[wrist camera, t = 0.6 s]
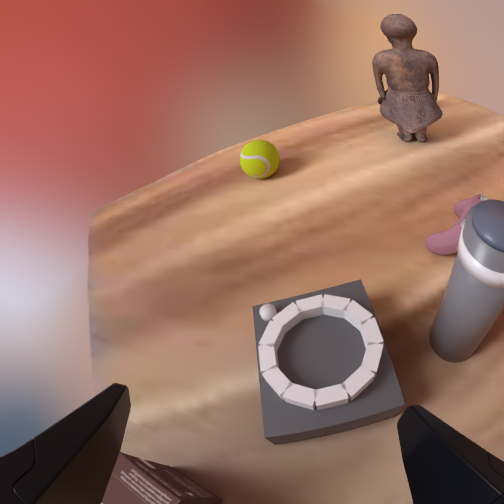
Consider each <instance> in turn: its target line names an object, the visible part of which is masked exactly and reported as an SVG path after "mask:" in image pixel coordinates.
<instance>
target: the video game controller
mask: <svg viewBox="0 0 504 504" xmlns="http://www.w3.org/2000/svg"><path fill="white" fill-rule="evenodd" d="M484 200H489V199H488V198H487V197H484V196H483V194H482V195H480V194H478V195H476V196H474V197H472V198H469V199H464V200H461V201H459V202H457V203H456V204H455V206H454V212H455V214H456V215H457V216H459V219H458V220H457V222H456V223H455V225H454V226H453V227H452V228H451V229H449V230H446V231H443V232H439V233H434V234H431V235H430V236H428V237H427V239H426V246H427V248H428V249H429V250H430V251H431V252H433V253H435V254H440V255H449V254H454V253H457V252H458V251H457V246H458V242H459V238H460V234H461V229H462V227H463V225H464V223H465V220H466V215H467V212H468V211H469V209H470V208H471V207H472V206H474V205H476V204H478V203H479V202H481V201H484Z"/></svg>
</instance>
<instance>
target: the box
mask: <svg viewBox="0 0 504 504" xmlns="http://www.w3.org/2000/svg"><path fill="white" fill-rule="evenodd" d="M221 503H222V499H221V498H219V497H217V496H216V495H214V494H212V493H211V492H209V491H208V490H206V489H204V488H203V487H201V486H200V485H198V484H197V483H195V482H193V481H192V480H190V479H189V478H187V477H186V476H184V475H183V474H181V473H179V472H178V471H176V470H175V469H174V468H172V467H170V466H167V465H162V464H159V463H155V462H151V461H148V460H144V459H141V458H137V457H134V456H130V455H127V454H124V453H122V452H120V453H119V456H118V458H117V461H116V464H115V466H114V469H113V472H112V474H111V477H110V480H109V483H108V485H107V488H106V491H105V494H104V497H103V500H102V503H101V504H221Z"/></svg>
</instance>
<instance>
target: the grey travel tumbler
mask: <svg viewBox="0 0 504 504" xmlns="http://www.w3.org/2000/svg"><path fill="white" fill-rule="evenodd" d="M457 251H458V252H457V255H456V259H455V262H454V266H453V269H452V272H451V275H450V279H449V282H448V285H447V288H446V291H445V293H444V296H443V299H442V302H441V304H440V307H439V310H438V312H437V315H436V318H435V320H434V323H433V325H432V328H431V331H430V343H431V346H432V348H433V350H434V351H435V353H436V354H437V355H438V356H439V357H441V358H442V359H444V360H446V361H449V362H462V361H464V360H466V359H468V358H469V357H470V356H471V355H472V354H473V353H474V352H475V350H476V349H477V348H478V346H479V345H480V343H481V342H482V340H483V339H484V337H485V336H486V335H487V333H488V332H489V330H490V328H491V327H492V325H493V324H494V322H495V321H496V319H497V317H498V316H499V314H500V313H501V311H502V309H503V307H504V202H503V201H499V200H484V201H481V202H479V203H478V204H476V205H474V206H472V207H471V208H470V209H469V211H468V212H467V215H466V220H465V223H464V225H463V227H462V229H461V234H460V238H459V242H458V246H457Z"/></svg>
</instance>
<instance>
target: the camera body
mask: <svg viewBox="0 0 504 504" xmlns="http://www.w3.org/2000/svg"><path fill="white" fill-rule="evenodd" d="M253 314H254V326H255V337H256V348H257V359H258V370H259V381H260V392H261V403H262V413H263V424H264V435H265V438H266V439H267V440H269V441H270V442H272V443H273V444H275V445H276V444H283V443H289V442H295V441H301V440H306V439H311V438H316V437H321V436H326V435H330V434H335V433H339V432H343V431H347V430H351V429H355V428H358V427H362V426H365V425H369V424H372V423H376V422H379V421H382V420H385V419H388V418H391V417H394V416H397V415H398V413H399V412H400V411H401V409H402V408H403V406H404V405H405V402H404V399H403V395H402V392H401V389H400V386H399V382H398V379H397V376H396V373H395V370H394V367H393V364H392V361H391V358H390V355H389V352H388V349H387V346H386V344H385V341H384V338H383V335H382V332H381V330H380V327H379V324H378V322H377V319H376V316H375V314H374V311H373V309H372V306H371V303H370V301H369V298H368V296H367V293H366V291H365V288H364V286H363V284H362V281H361V280H357V281H353V282H350V283H346V284H342V285H338V286H335V287H331V288H327V289H323V290H319V291H315V292H311V293H307V294H303V295H299V296H295V297H291V298H287V299H282V300H278V301H274V302H270V303H265V304H261V305H256V306H253Z"/></svg>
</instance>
